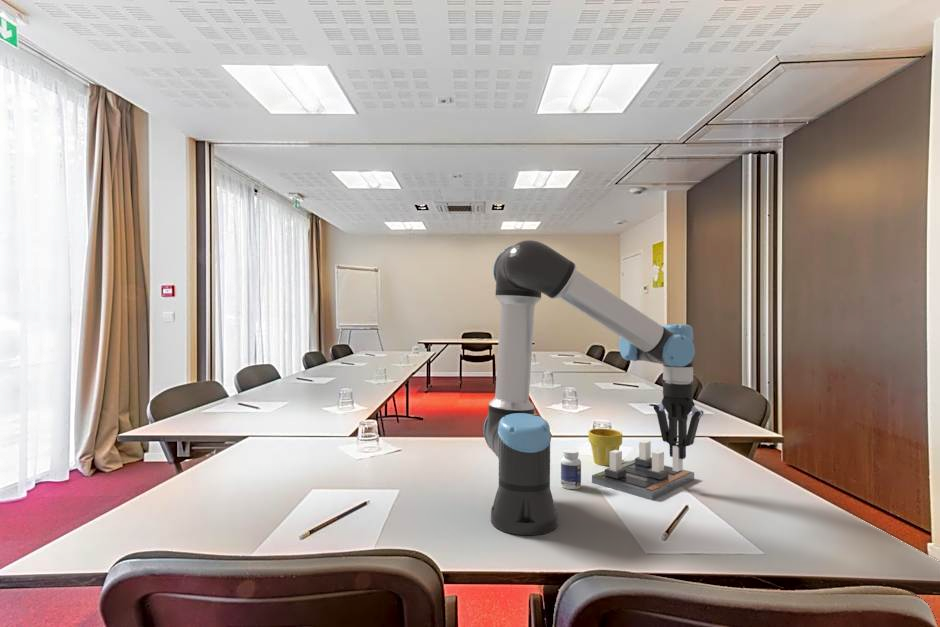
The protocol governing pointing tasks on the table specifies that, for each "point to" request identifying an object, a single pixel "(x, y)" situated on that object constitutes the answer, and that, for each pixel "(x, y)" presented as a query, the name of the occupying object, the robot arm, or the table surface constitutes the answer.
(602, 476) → the panel
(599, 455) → the plant pot
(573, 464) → the pill bottle
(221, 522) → the table surface
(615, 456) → the block
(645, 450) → the breaker right
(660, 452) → the breaker mid
